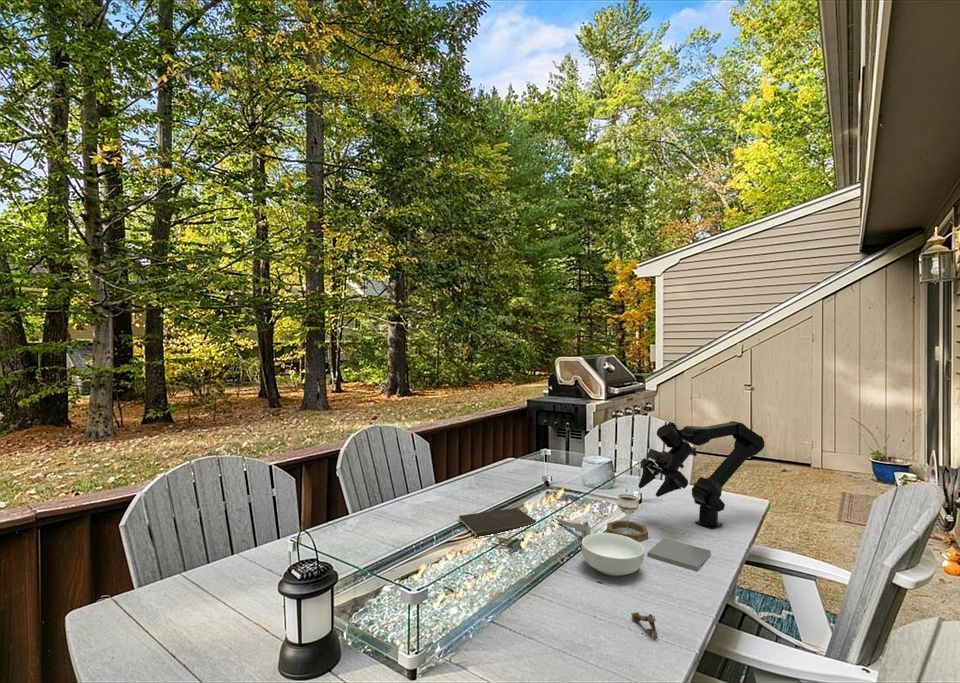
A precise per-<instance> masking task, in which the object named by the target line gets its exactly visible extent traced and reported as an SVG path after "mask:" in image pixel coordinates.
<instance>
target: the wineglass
mask: <svg viewBox="0 0 960 683" xmlns="http://www.w3.org/2000/svg"><path fill="white" fill-rule="evenodd" d="M638 501H639V497H638V496H636V495H633V494H627V493H626V494H618V495H617V501H616V505H617V507H618V510H620V512H622V513H624V514H625V515H626V519H625V521H626V525H627V528H626V530H621V531H620V532H621V533H626V534H635V533H634V532H633V531H629V528H628V521H630V520H629V518H630V515H631V514H634V513H635V512H636V511H638V508H639V506H640V505H639V504H640V503H639V502H638Z"/></svg>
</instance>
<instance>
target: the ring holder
mask: <svg viewBox="0 0 960 683" xmlns="http://www.w3.org/2000/svg"><path fill="white" fill-rule="evenodd" d="M619 528H620V529H627V525H626V520H617V519H616V520H614V521H611V522H607V524H606V530H607V533H612V534H618V535H622V536H626V537H629V538H631V539H633V540H635V541H637V542H639V543H641V542H642V541H646V540H648V539H649V532H648V529H647V526H646V525H642V524H641V523H639V522H638V523H637V522H635V521H630V520H628V529H630V530H635V531H636V532H639V533H634V534H626V533H621V531H619V530H617V529H619Z"/></svg>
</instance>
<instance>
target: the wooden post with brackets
mask: <svg viewBox="0 0 960 683" xmlns="http://www.w3.org/2000/svg"><path fill="white" fill-rule="evenodd" d="M631 620H632V622H633V623H635V622H636V623H637V622H648V624H649V626H650V628H645V632H646V634H647V633H648V635H649V636H651V635H653V639H658V638H659V637H658V632H657V629H656V624H655V622H656V621H657V620H656V618H655V615H654V616H653V614H651V613H650V614H648V615H641V614H640V612H639V611H636V612H631Z"/></svg>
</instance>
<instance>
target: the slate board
mask: <svg viewBox="0 0 960 683" xmlns="http://www.w3.org/2000/svg"><path fill="white" fill-rule="evenodd" d="M710 554H711V555H712V550H710V549H707V548H702V547H699V546H696V545H691V544H688V543H684V542H679V541H676V540H673V539H669V538H665V537H663V538H661V540H659V542H657V543H656V544H655V545H654V546H653V547H652V548H650V549H649V550H648V551H647V554H646V556H647V557H648V558H651V559H655V560H657V561H661V562H664V563H669V564H671V565H675V566H678V567H682V568H684V567H685V569H688V568H689V570H691V569H693V570H692V571H695V570H698V569H699V568H701V567H702V566H703V565H702V564H703V563H704V564H705V563H706V561H707V560H708V559H709V558H710V556H711V555H710ZM707 558H708V559H707ZM706 559H707V560H706ZM705 560H706V561H705ZM701 565H702V566H701ZM699 570H700V569H699ZM699 570H698V571H699Z"/></svg>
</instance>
